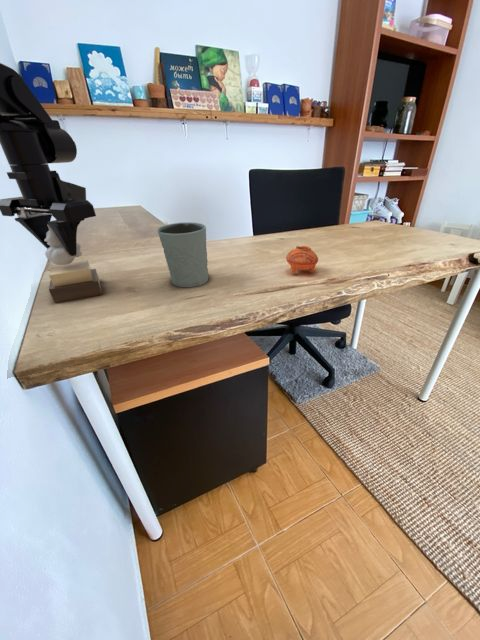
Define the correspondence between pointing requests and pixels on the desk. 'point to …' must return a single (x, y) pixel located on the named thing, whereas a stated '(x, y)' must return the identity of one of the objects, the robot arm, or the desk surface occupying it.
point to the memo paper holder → (73, 281)
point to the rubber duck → (59, 250)
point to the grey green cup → (185, 253)
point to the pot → (302, 259)
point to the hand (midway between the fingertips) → (64, 254)
